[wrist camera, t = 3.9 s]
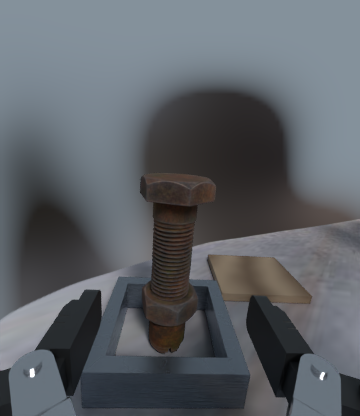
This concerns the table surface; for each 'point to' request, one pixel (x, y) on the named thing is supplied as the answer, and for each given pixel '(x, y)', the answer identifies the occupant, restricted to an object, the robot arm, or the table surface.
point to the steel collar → (164, 360)
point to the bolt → (172, 254)
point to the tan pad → (255, 279)
